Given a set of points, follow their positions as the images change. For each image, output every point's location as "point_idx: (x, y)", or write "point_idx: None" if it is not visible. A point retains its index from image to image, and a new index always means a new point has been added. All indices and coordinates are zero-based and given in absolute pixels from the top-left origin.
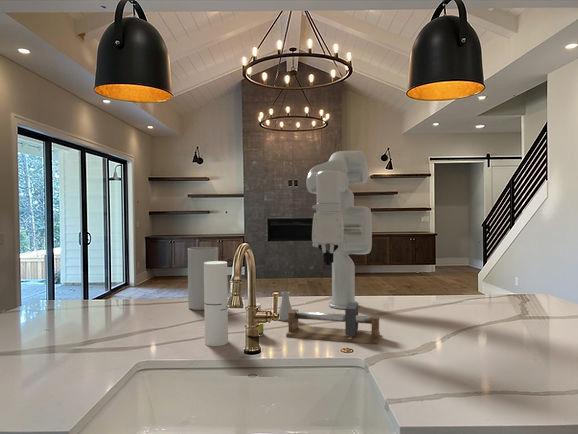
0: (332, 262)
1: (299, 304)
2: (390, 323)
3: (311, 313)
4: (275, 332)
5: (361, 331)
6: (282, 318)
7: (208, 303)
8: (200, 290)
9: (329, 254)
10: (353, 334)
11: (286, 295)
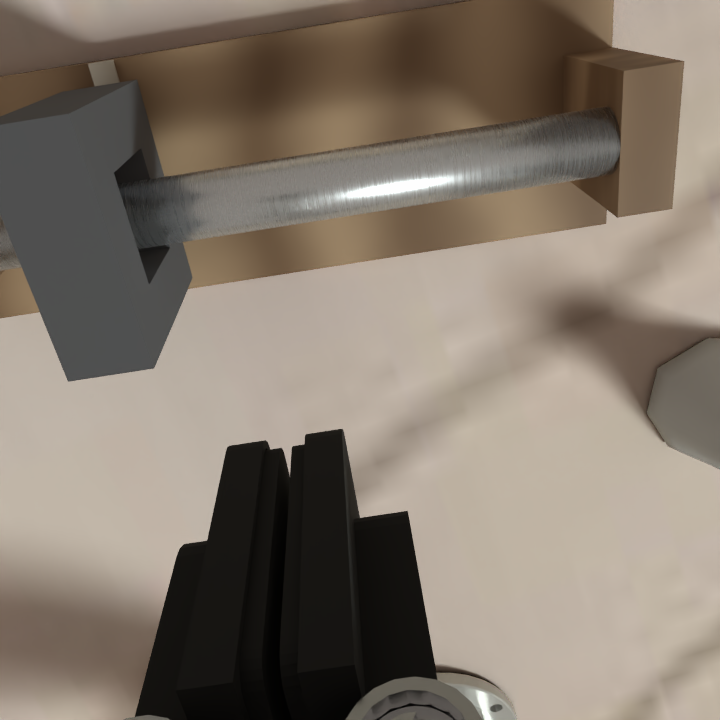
0: (198, 545)
1: (686, 669)
2: (50, 540)
3: (464, 153)
4: (715, 57)
5: None
6: None
7: None
8: None
9: (201, 651)
10: (70, 90)
11: None
